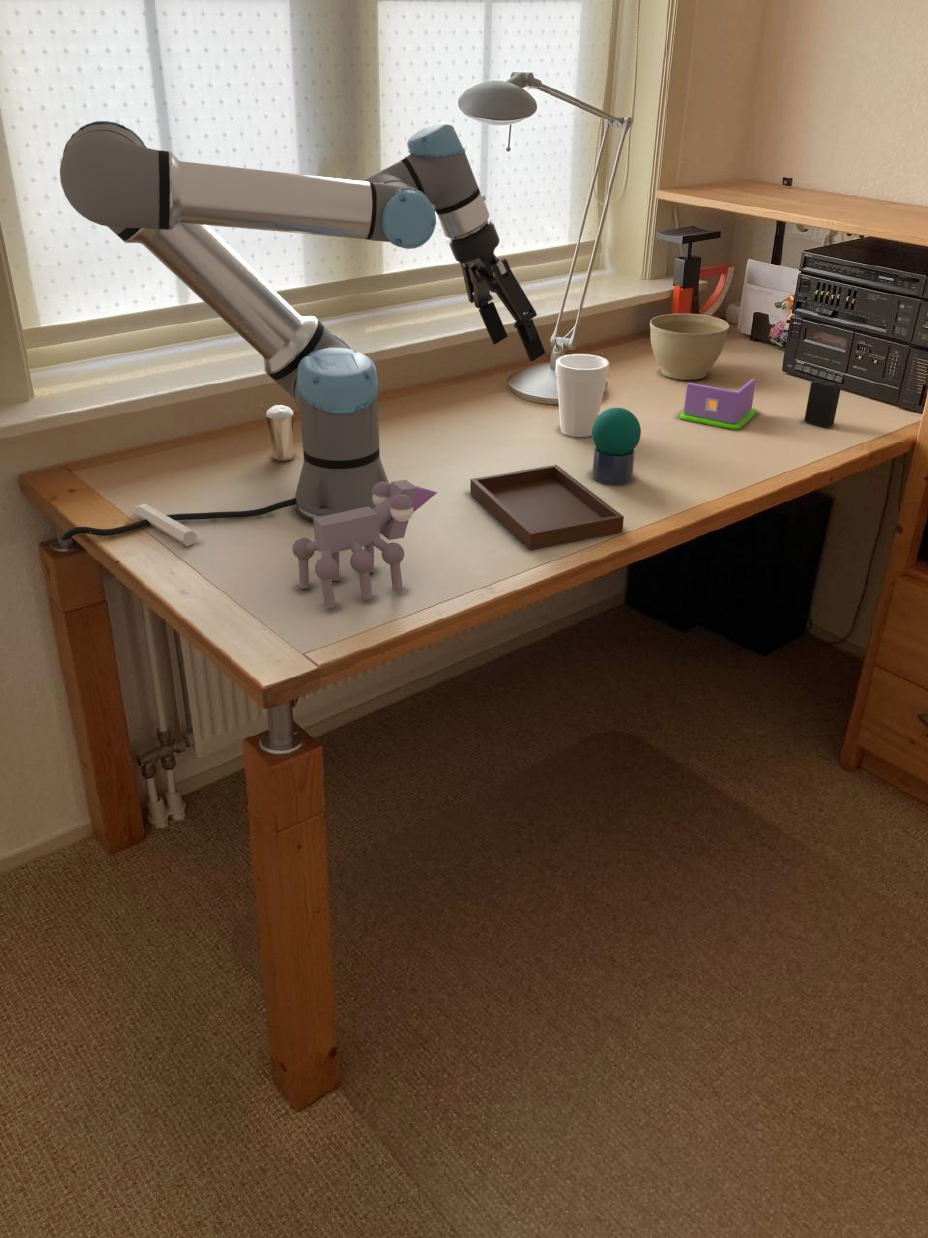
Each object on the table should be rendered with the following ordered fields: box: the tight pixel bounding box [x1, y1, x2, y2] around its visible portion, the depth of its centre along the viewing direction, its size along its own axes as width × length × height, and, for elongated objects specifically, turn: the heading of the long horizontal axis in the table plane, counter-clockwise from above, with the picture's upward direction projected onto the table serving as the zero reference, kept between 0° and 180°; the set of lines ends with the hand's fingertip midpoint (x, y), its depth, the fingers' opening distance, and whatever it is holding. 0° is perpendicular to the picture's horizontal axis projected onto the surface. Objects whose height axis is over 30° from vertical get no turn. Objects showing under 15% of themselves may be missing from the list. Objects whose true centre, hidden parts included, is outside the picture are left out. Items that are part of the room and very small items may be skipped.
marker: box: [132, 502, 198, 547], centre depth 159 cm, size 3×2×16 cm
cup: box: [592, 445, 636, 486], centre depth 176 cm, size 7×7×5 cm
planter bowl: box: [649, 313, 730, 381], centre depth 222 cm, size 16×16×11 cm
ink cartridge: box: [803, 379, 842, 429], centre depth 198 cm, size 5×2×8 cm, turn 44°
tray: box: [469, 464, 625, 551], centre depth 165 cm, size 16×22×3 cm
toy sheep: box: [291, 479, 438, 609], centre depth 142 cm, size 20×11×14 cm, turn 119°
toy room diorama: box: [679, 378, 758, 431], centre depth 202 cm, size 12×12×7 cm
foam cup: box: [554, 353, 610, 438], centre depth 192 cm, size 10×9×13 cm
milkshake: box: [260, 404, 294, 462], centre depth 181 cm, size 5×5×10 cm
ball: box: [591, 407, 642, 455], centre depth 174 cm, size 8×8×8 cm
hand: (518, 348), depth 176 cm, fingers open, 13 cm apart
